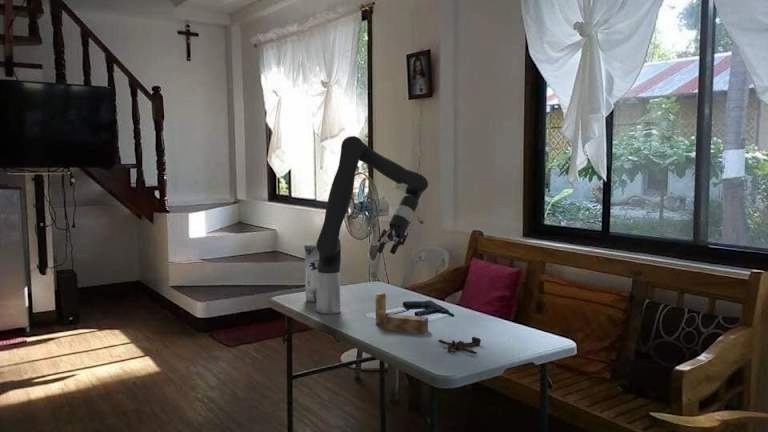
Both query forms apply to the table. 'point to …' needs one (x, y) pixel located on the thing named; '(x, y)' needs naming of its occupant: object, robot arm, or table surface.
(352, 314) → the table surface
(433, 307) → the gun
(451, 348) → the brown toy figure
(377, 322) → the oak post
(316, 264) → the juice carton
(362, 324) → the table surface
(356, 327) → the table surface
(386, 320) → the walnut rail
